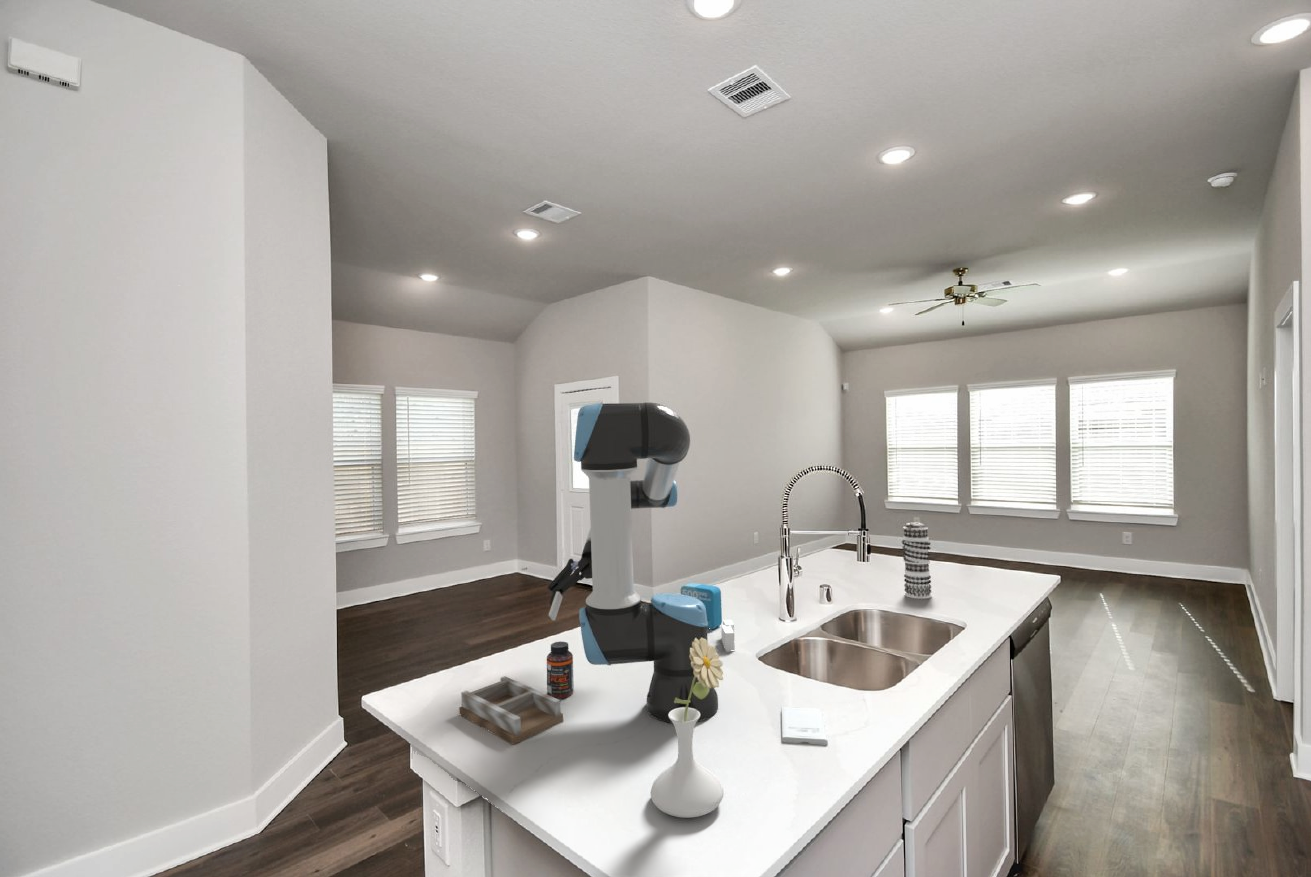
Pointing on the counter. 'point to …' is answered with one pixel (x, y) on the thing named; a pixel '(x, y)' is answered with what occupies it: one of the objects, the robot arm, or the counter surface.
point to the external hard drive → (803, 725)
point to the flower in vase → (690, 747)
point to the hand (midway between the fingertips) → (576, 619)
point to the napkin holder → (728, 635)
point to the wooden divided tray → (511, 710)
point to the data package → (706, 601)
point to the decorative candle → (916, 561)
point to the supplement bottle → (560, 671)
